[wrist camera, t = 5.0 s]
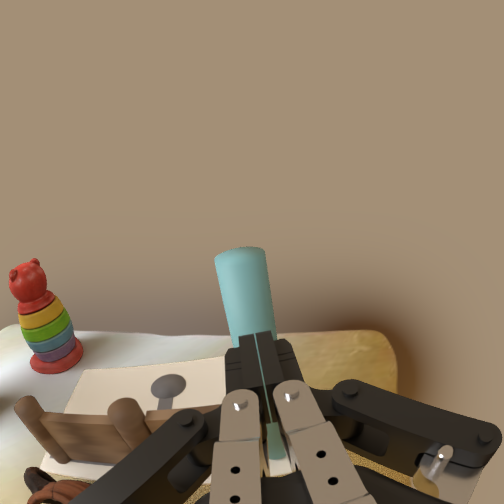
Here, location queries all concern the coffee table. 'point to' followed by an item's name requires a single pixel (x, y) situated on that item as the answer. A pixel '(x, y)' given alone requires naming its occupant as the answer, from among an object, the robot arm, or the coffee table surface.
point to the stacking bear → (43, 321)
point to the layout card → (146, 401)
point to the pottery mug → (51, 487)
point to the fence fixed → (86, 431)
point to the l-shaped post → (240, 321)
